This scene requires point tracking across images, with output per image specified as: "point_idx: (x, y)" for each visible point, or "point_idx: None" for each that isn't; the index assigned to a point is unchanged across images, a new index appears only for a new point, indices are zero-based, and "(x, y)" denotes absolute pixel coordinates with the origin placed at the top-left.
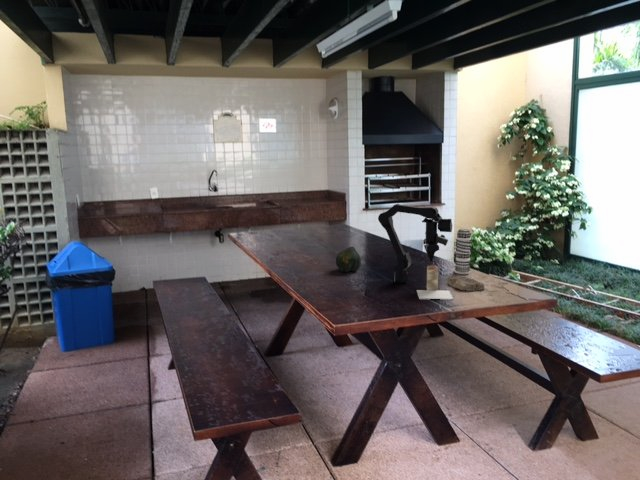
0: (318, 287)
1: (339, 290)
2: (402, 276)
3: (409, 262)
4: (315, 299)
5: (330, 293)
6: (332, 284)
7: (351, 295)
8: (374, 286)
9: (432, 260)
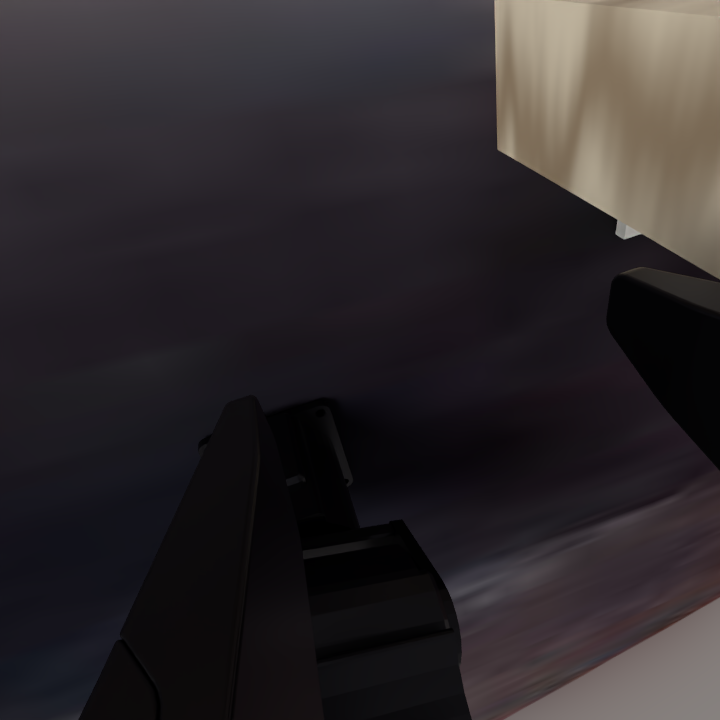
0: (519, 668)
1: (569, 604)
2: (342, 485)
3: (348, 614)
4: (697, 595)
5: (617, 603)
6: (460, 665)
7: (663, 537)
8: (476, 534)
9: (684, 277)
